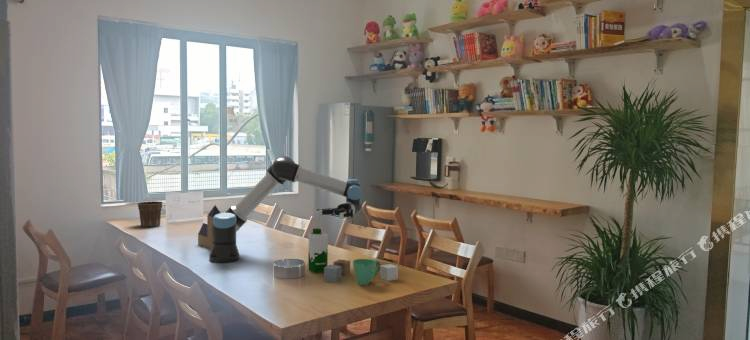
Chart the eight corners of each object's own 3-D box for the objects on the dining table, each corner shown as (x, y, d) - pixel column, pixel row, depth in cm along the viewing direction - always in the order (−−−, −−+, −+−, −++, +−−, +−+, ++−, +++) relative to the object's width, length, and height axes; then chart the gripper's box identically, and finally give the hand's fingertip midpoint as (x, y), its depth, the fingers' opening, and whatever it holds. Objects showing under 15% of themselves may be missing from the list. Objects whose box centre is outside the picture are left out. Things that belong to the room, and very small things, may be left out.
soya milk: (322, 267, 266) (323, 227, 264) (329, 272, 258) (330, 230, 256) (306, 269, 262) (306, 228, 260) (312, 273, 254) (313, 232, 252)
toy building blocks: (212, 250, 299) (212, 205, 297) (198, 244, 313) (198, 202, 311) (232, 247, 307) (233, 204, 305) (218, 242, 321) (218, 200, 319)
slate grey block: (323, 280, 243) (324, 267, 243) (329, 277, 249) (329, 264, 248) (335, 282, 241) (336, 269, 240) (341, 278, 246) (341, 266, 246)
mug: (363, 288, 232) (364, 265, 232) (347, 283, 239) (348, 261, 238) (386, 281, 243) (386, 259, 242) (370, 277, 250) (370, 256, 249)
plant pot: (132, 227, 363) (132, 203, 362) (146, 223, 379) (146, 200, 377) (154, 228, 360) (154, 204, 359) (167, 224, 376) (167, 201, 375)
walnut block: (333, 274, 254) (333, 262, 253) (338, 271, 259) (338, 259, 259) (344, 276, 251) (345, 263, 251) (350, 273, 257) (350, 260, 257)
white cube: (379, 278, 250) (380, 265, 249) (390, 276, 253) (390, 263, 252) (387, 281, 245) (387, 268, 244) (397, 279, 248) (398, 266, 247)
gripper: (367, 218, 282) (350, 224, 263) (324, 215, 291) (305, 220, 272) (367, 204, 282) (350, 209, 262) (324, 201, 291) (305, 206, 271)
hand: (327, 215), depth 267 cm, fingers open, 13 cm apart
